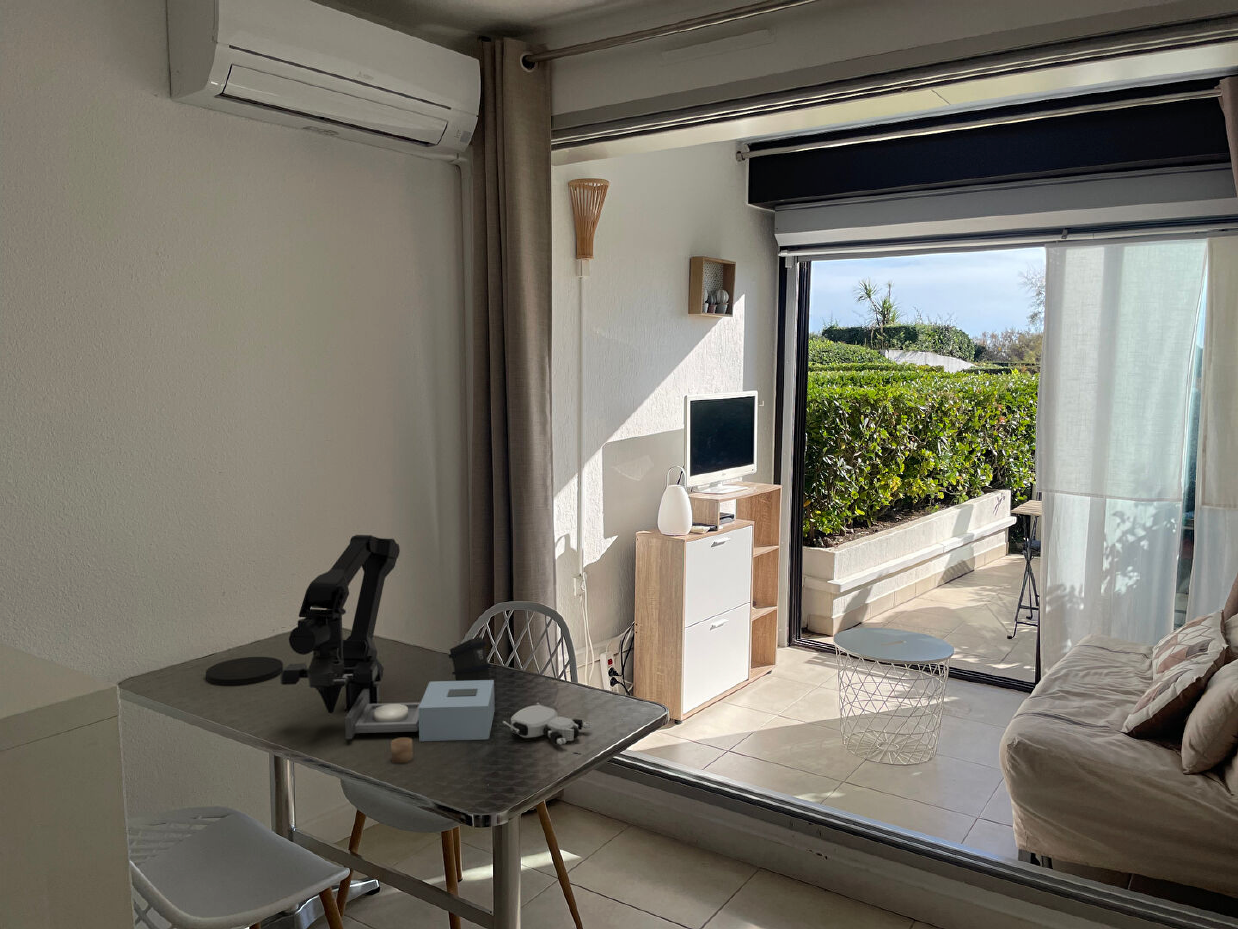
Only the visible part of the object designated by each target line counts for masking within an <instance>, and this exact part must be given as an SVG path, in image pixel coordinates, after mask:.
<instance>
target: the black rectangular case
mask: <svg viewBox="0 0 1238 929" xmlns="http://www.w3.org/2000/svg"><path fill="white" fill-rule="evenodd" d="M486 645H487V643H486V640H484V641H483V638H482V636H478V637H476V638H474V637H473V638H470V639H469V640H466V641H464V642H462V643H460V644H458V645H456V646H453V647H452V648H450V649H449V652H450V654H449V655H448V658H449V659H452V661H451V662H452V664H453V670H454V671H452V676H454V675H455V676H454V677H455V681H474V680H491V676H490V670H489V669H491V668H492V666H491V663H490V662H489V663H488V659H487V658H488V657H487V652H486V649H485V646H486Z"/></svg>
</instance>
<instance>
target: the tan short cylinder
mask: <svg viewBox="0 0 1238 929" xmlns="http://www.w3.org/2000/svg"><path fill="white" fill-rule="evenodd" d="M390 753H391V754H390V755H391V756H390V757H391V762H392V763H395V764H406V763H409V762H411V761H412V760H413V756H414V755H413V739H412V738H411V737H405V736H404V737H396V738H394V739H392V740H391V741H390Z"/></svg>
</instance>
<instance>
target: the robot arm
mask: <svg viewBox="0 0 1238 929" xmlns="http://www.w3.org/2000/svg"><path fill="white" fill-rule="evenodd" d="M400 550H401V547H400V545H399V544H398V543H397V542H396V540H395V539H394V538H383V537H382V538H381V537H380V538H379V537H377V536H373V535H371V534H355V535H353V536H351V538H350V540H349V544H348V545H347V546H346V548H344V551H343V552H342V554H341V555H340V556H339V557H338V558H337V559H336V561H335V563H334V564H333V565H332V566H331V568H330V570H328V571H327V572H323V573H322V574H319V575H317V577H315V578H314V579H313V580H312V581H311V582H310V583H309V584H308V587H307V588H306V591H305V594H304V597H303V599H302V600H303V601H302V603H301V607H300V610H299V614H298V617H299V618H301V619H298V620H297V626H296V627H294V628H293V629H292V630H291V632H290V634H289V637H288V642H289V645H290V647H291V649H292V650H293V652H295V653H297V654H299V655H302V656H304V655H308V654H310V653H312V658H311V662H310V664H309V667H308V665H307V663H304V662H303V663H289V664H288V665H287V666H286V667H285V668H283V671H282V672H281V674H280V684H281V685H284V686H287V685H296V684H297V683H299V682H300V680H301V679H304V678H305V679H308V684H309V688H312V689H315V690H316V691H317V692H318V693H319V695H320V696H321V699H322V700H323V704H324V706H325V709H326V710H327V712H328V714H334V712H335V708H336V705H337V702H338V699H339V695H340V693H341V690H342V688H343V687H345V707H344V708H343V711H344V712H349V711H350V710H351V708H352V706H353V705H354V703H355V702H356V700H357V699H358V697H359V695H360V694H361V692H362V691H363V689H369V702H370V704H379V702H380V684H379V682H382V678H383V677H384V676H383V675H384V666H383V665H382V664H381V662H380V661H379V660H378V658H377V656H378V650H377V648H376V644H375V642H374V640H373V639H374V634H375V628H376V622H377V618H378V614H379V609H380V604H381V601H382V600H381V599H382V595H383V588H384V584H385V579H386V578H387V576H388V575H389V574H390V573H391V572H392V571H393V570H394V569H395V567H396V563H397V561H398V560H397V559H398V558H399V556H400ZM361 568H362V570H363V576H362V581H361V586H360V590H359V595H358V600H357V604H356V608H355V611H354V612H355V613H354V616H353V623H352V626H351V627H352V628H351V631H350V634H349V635H348V637H346V639H343V638H344V637H343V635H344V634H343V615H345V614H347V610H346V609H345V608H344V606H345V604H346V602H347V599H348V597H349V596H350V590H349V589H350V588H349V586H350V583H351V582H352V581H353V579H354V578H355V576H356V575H357V574H358V572H359V571H360V569H361Z"/></svg>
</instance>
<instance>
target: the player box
mask: <svg viewBox="0 0 1238 929" xmlns="http://www.w3.org/2000/svg"><path fill="white" fill-rule="evenodd" d="M420 702H421V703H420V705H419V708H418V712H419V729H418V737H419V738H418V740H419V742H436V741H437V742H440V741H444V742H445V741H474V740H475V741H477V740H478V741H479V740H480V741H481V740H489V739H490V735H491V730H492V724H493V720H494V715H495V712H496V711H495V680H494V679H490V680H474V681H456V680H447V681H446V680H440V681H429V682H428V685H427V687H426V690H425V691H424V693H423V697H422V699H421V701H420Z"/></svg>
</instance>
